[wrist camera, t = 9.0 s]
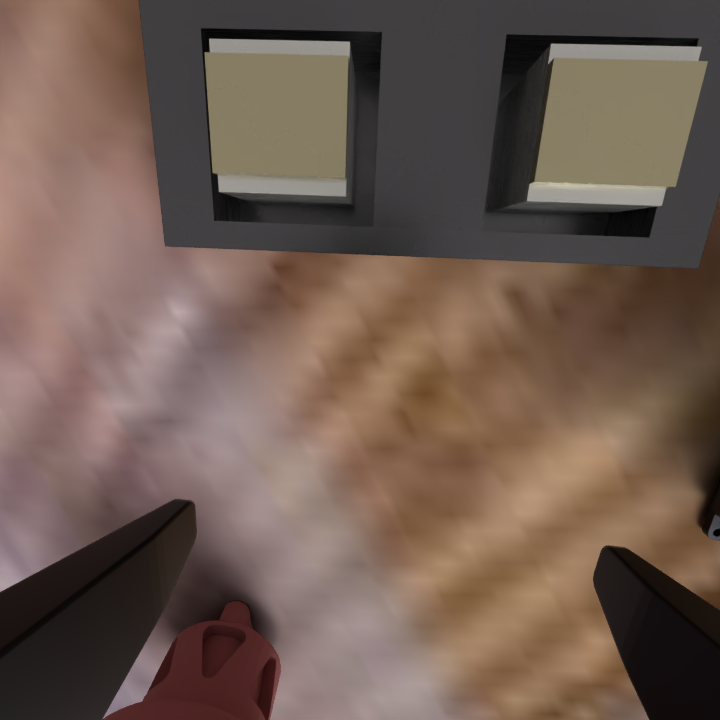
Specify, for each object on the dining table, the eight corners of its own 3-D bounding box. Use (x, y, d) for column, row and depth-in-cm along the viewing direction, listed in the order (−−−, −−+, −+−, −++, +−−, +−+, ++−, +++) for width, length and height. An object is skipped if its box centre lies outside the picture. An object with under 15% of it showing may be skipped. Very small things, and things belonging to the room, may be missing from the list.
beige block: (608, 103, 15) (713, 39, 10) (586, 216, 16) (670, 204, 12) (502, 100, 15) (557, 36, 11) (488, 212, 17) (531, 199, 12)
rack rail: (687, 54, 15) (776, 0, 12) (637, 263, 17) (698, 268, 14) (189, 43, 16) (137, -11, 12) (204, 245, 18) (165, 246, 15)
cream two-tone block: (358, 98, 16) (349, 34, 11) (354, 208, 17) (344, 195, 12) (256, 95, 16) (202, 31, 11) (260, 205, 17) (213, 190, 12)
